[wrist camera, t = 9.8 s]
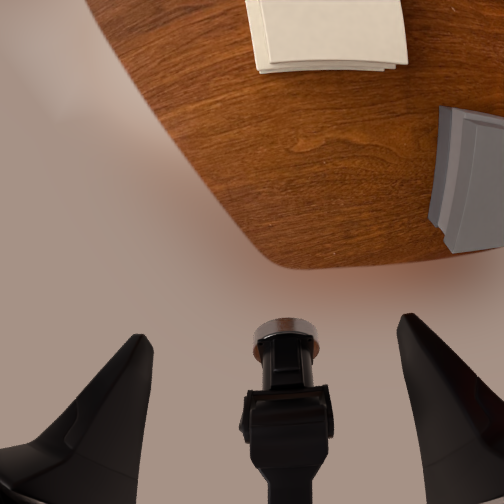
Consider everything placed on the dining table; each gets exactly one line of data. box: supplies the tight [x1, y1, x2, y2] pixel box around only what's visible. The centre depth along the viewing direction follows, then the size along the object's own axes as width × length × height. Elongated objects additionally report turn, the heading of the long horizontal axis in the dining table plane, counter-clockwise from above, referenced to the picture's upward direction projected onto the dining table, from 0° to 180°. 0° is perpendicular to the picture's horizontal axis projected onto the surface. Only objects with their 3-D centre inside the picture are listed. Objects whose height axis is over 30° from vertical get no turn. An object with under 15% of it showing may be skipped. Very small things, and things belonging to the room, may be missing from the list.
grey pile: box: [428, 106, 504, 253], centre depth 15 cm, size 9×7×4 cm
